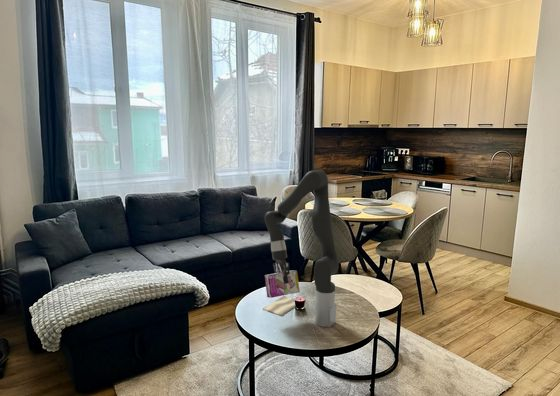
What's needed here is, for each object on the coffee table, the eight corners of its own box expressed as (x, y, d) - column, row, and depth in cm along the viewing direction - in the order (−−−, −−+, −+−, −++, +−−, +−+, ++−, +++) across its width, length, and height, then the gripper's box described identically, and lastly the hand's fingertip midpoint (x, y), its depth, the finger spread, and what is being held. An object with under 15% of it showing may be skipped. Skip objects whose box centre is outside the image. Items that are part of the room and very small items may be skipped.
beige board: (301, 302, 209) (301, 301, 209) (281, 315, 194) (281, 314, 194) (283, 296, 216) (283, 295, 216) (262, 309, 201) (262, 308, 201)
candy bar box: (268, 275, 186) (297, 269, 194) (263, 275, 191) (292, 269, 198) (271, 298, 185) (300, 292, 192) (267, 297, 189) (295, 291, 197)
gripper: (291, 248, 189) (297, 282, 187) (279, 249, 202) (283, 281, 200) (278, 250, 186) (283, 285, 184) (266, 251, 198) (270, 284, 196)
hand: (283, 283), depth 192 cm, fingers closed on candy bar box, 5 cm apart
